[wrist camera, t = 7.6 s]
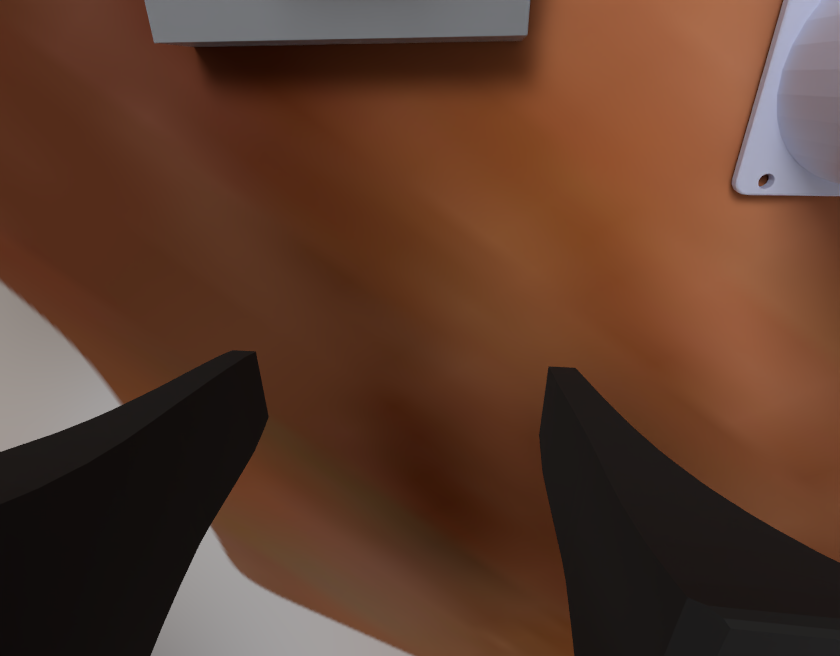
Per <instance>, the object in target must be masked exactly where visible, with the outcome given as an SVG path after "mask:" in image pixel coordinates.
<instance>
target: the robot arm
mask: <svg viewBox="0 0 840 656" xmlns="http://www.w3.org/2000/svg"><path fill="white" fill-rule="evenodd" d="M765 174H768V175H769V179H768V181H767V183H766V184H764V185H763V186H759V185H758V181H759V179H760V178H761V177H762V176H763V175H765ZM732 186H733V189H734V190H735V191H737V192H738V193H741V194H745V195H788V196H840V0H783V4H782V7H781V11H780V14H779V18H778V21H777V25H776V28H775V32H774V35H773V39H772V42H771V46H770V49H769V53H768V56H767V60H766V63H765V67H764V70H763V74H762V77H761V81H760V84H759V88H758V91H757V95H756V98H755V102H754V105H753V108H752V112H751V115H750V119H749V122H748V126H747V129H746V133H745V136H744V140H743V143H742V147H741V150H740V154H739V157H738V161H737V164H736V168H735V171H734V175H733V178H732ZM267 420H268V412H267V406H266V401H265V396H264V391H263V386H262V381H261V376H260V371H259V366H258V361H257V356H256V352H254V351H234V350H233V351H230V352H228V353H225V354H223V355H221V356H218V357H216V358H214V359H212V360H210V361H208V362H206V363H204V364H202V365H200V366H199V367H197V368H195V369H193V370H191V371H189V372H187V373H185V374H183V375H181V376H180V377H178V378H176V379H174V380H172V381H170V382H168V383H166V384H164V385H162V386H160V387H158V388H157V389H155V390H152V391H150V392H148V393H146V394H144V395H142V396H140V397H138V398H136V399H134V400H132V401H130V402H128V403H126V404H124V405H122V406H119V407H118V408H115V409H113V410H111V411H109V412H106V413H104V414H102V415H100V416H97V417H95V418H93V419H91V420H88V421H86V422H83V423H80V424H78V425H75V426H73V427H70V428H68V429H65V430H63V431H60V432H58V433H55V434H52V435H49V436H46V437H43V438H40V439H37V440H34V441H31V442H29V443H26V444H23V445H20V446H17V447H14V448H11V449H8V450H5V451H2V452H0V656H150V655H151V653H152V650H153V648H154V646H155V643H156V641H157V638H158V636H159V633H160V631H161V628H162V626H163V624H164V621H165V619H166V617H167V614H168V612H169V610H170V608H171V605H172V603H173V600H174V598H175V596H176V594H177V591H178V589H179V587H180V585H181V582H182V580H183V578H184V576H185V574H186V572H187V570H188V568H189V565H190V563H191V561H192V559H193V557H194V555H195V553H196V550H197V549H198V546H199V545H200V543H201V541H202V539H203V537H204V535H205V534H206V532H207V530H208V528H209V526H210V525H211V523H212V521H213V520H214V518H215V516H216V515H217V513H218V511H219V510H220V508H221V506H222V505H223V503H224V502H225V500H226V498H227V497H228V495H229V493H230V492H231V490H232V488H233V487H234V485H235V483H236V482H237V480H238V478H239V477H240V475H241V473H242V472H243V470H244V468H245V467H246V465H247V463H248V461H249V460H250V458H251V456H252V454H253V453H254V451H255V449H256V446H257V444H258V442H259V440H260V437H261V435H262V432H263V430H264V427H265V425H266V422H267ZM539 437H540V449H541V460H542V470H543V476H544V481H545V486H546V490H547V495H548V499H549V504H550V508H551V513H552V517H553V522H554V526H555V531H556V535H557V540H558V544H559V548H560V553H561V557H562V562H563V568H564V573H565V579H566V586H567V595H568V603H569V611H570V619H571V628H572V637H573V646H574V655H575V656H840V563H839V562H837V561H835V560H833V559H831V558H829V557H827V556H825V555H823V554H821V553H819V552H817V551H815V550H813V549H811V548H809V547H808V546H806V545H804V544H802V543H800V542H798V541H797V540H795V539H793V538H791V537H789V536H787V535H786V534H784V533H782V532H780V531H778V530H776V529H775V528H773V527H771V526H770V525H768V524H766V523H764V522H763V521H761V520H759V519H758V518H756V517H754V516H753V515H751V514H749V513H748V512H746V511H744V510H743V509H741V508H740V507H738V506H737V505H735V504H734V503H732V502H730V501H729V500H727V499H726V498H724V497H723V496H721V495H719V494H718V493H716V492H715V491H713V490H712V489H710V488H709V487H708V486H706V485H705V484H703V483H702V482H700V481H699V480H697V479H696V478H695V477H693V476H692V475H691V474H689V473H688V472H687V471H685V470H684V469H683V468H681V467H680V466H679V465H677V464H676V463H675V462H673V461H672V460H671V459H669V458H668V457H667V456H666V455H664V454H663V453H662V452H661V451H660V450H658V449H657V448H656V447H655V446H654V445H653V444H651V443H650V442H649V441H648V440H647V439H646V438H645V437H643V436H642V435H641V434H640V433H639V432H638V431H637V430H636V429H634V428H633V427H632V426H631V425H630V424H629V423H628V422H627V421H626V420H625V419H624V418H623V417H622V416H621V415H620V414H619V413H618V412H617V411H616V410H615V409H614V408H613V407H612V406H611V405H610V404H609V403H608V402H607V401H606V400H605V399H604V398H603V397H602V396H601V395H600V394H599V393H598V392H597V391H596V390H595V389H594V387H593V386H592V385H591V384H590V383H589V382H588V381H587V380H586V379H585V378H584V377H583V375H582V374H581V373H580V372H579V371H578V370H577V369H576V368H566V367H549V368H548V375H547V382H546V390H545V397H544V404H543V411H542V419H541V426H540V433H539Z"/></svg>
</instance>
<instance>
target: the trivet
mask: <svg viewBox="0 0 840 656" xmlns="http://www.w3.org/2000/svg"><path fill="white" fill-rule="evenodd" d="M145 5H146V9H147V13H148V18H149V22H150V26H151V31H152V35H153V39H154V43H162V44H171V45H180V46H189V47H220V46H273V45H326V44H379V43H432V42H485V41H522V40H523V39H524V38H525V37H526V36H527V33H528V21H529V8H530V0H145Z"/></svg>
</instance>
